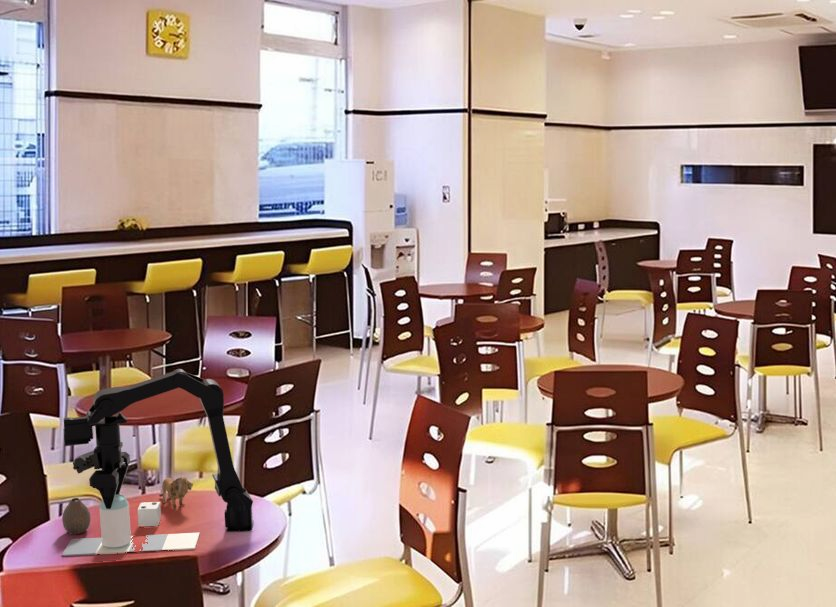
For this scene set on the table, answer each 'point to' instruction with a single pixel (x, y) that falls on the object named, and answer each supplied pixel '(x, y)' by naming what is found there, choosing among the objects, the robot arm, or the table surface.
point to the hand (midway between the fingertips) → (112, 502)
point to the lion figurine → (175, 490)
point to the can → (115, 523)
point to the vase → (76, 517)
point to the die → (149, 514)
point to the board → (154, 543)
